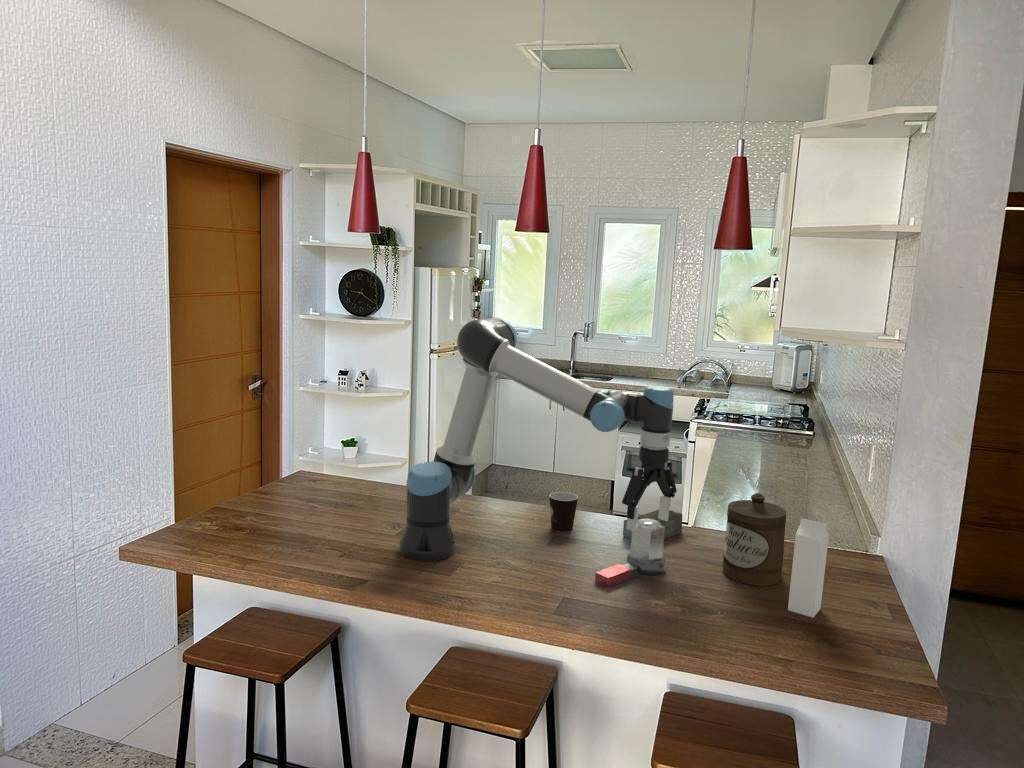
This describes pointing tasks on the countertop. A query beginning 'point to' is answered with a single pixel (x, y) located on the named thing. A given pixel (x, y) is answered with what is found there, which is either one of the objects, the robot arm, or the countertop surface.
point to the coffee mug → (562, 510)
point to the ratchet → (628, 571)
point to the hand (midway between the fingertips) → (647, 525)
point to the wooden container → (754, 541)
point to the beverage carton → (671, 525)
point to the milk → (808, 568)
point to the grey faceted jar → (647, 541)
